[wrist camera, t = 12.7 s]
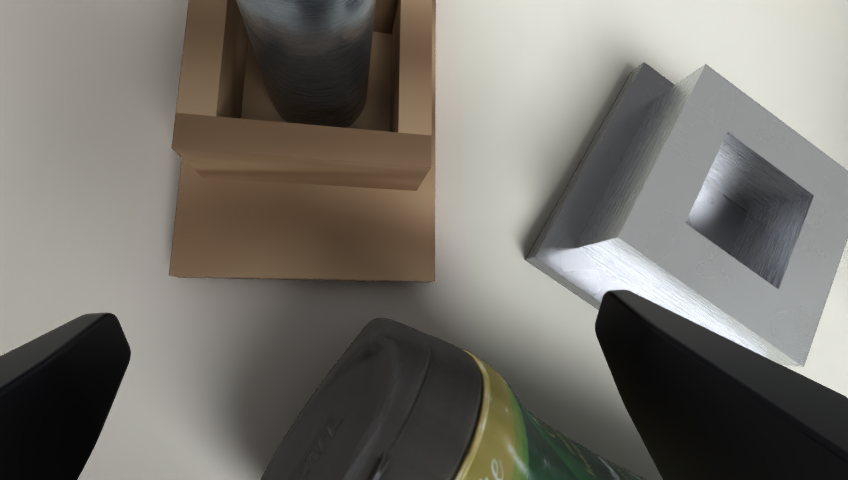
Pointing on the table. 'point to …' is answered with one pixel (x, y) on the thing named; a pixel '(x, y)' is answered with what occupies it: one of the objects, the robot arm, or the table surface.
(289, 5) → the metal rod
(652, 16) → the table surface
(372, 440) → the coffee jar
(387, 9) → the wooden tray
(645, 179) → the socket stand
